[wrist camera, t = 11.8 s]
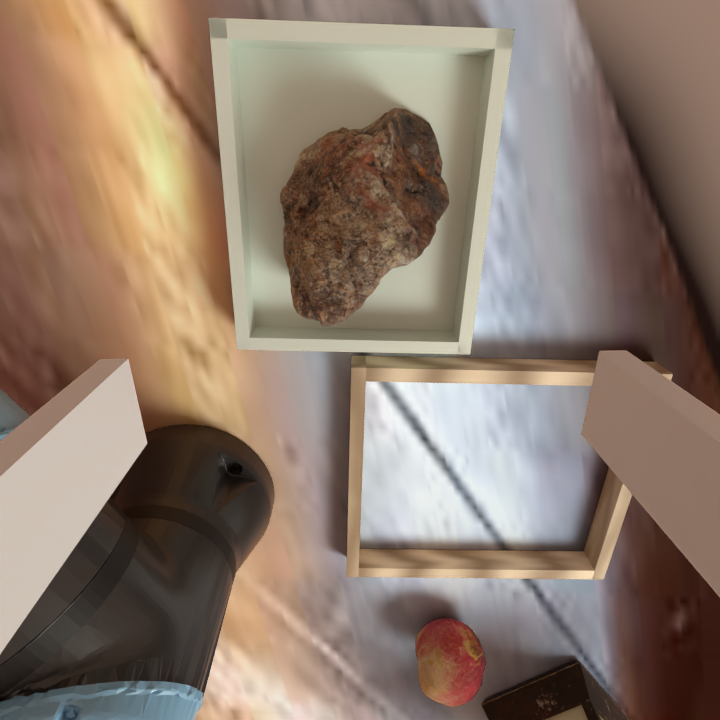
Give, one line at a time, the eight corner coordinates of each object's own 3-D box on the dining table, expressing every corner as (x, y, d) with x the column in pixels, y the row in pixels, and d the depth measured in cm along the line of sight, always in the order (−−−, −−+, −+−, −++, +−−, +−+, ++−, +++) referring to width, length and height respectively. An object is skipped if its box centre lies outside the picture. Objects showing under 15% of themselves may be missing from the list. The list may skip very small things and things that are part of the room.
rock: (468, 212, 35) (404, 81, 31) (512, 223, 27) (433, 50, 23) (307, 312, 37) (230, 200, 33) (304, 350, 29) (202, 207, 25)
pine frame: (346, 557, 49) (346, 576, 47) (351, 355, 40) (351, 367, 37) (592, 559, 50) (603, 579, 47) (654, 361, 40) (672, 374, 38)
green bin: (246, 333, 39) (237, 349, 36) (223, 31, 30) (208, 17, 27) (460, 338, 39) (470, 354, 36) (497, 41, 31) (514, 29, 27)
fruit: (420, 594, 52) (431, 667, 44) (484, 606, 53) (505, 679, 45) (400, 640, 55) (407, 715, 47) (461, 649, 56) (478, 725, 48)
